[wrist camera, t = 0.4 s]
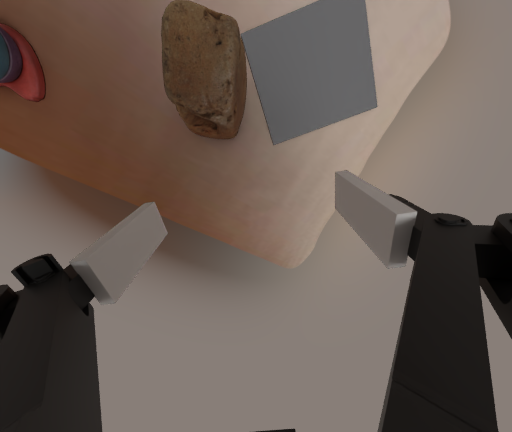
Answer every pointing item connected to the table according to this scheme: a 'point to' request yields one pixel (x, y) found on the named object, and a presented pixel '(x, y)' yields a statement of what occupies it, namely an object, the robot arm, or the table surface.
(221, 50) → the block
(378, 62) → the table surface
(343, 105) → the mat
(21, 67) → the stacking bear
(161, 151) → the table surface
